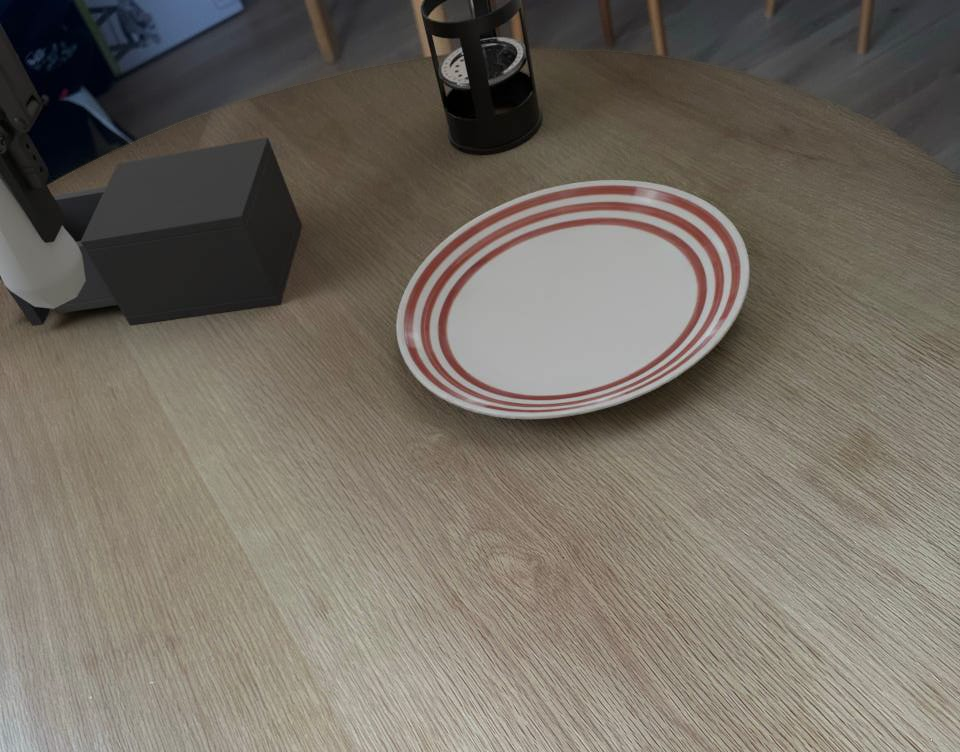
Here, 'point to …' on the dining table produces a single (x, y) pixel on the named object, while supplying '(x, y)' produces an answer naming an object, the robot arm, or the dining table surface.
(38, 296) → the salt shaker
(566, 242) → the dinner plate
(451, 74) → the french press
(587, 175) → the dining table surface
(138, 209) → the drawer casing
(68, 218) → the dark pull-out drawer box
